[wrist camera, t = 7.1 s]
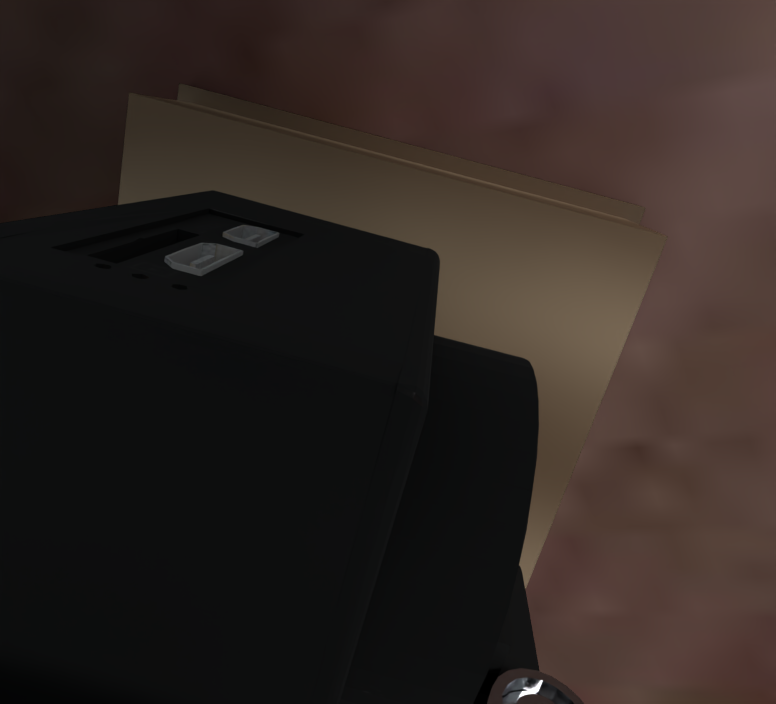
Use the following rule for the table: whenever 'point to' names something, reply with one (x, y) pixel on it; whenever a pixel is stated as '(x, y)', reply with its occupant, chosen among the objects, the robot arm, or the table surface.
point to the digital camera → (248, 464)
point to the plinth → (434, 244)
